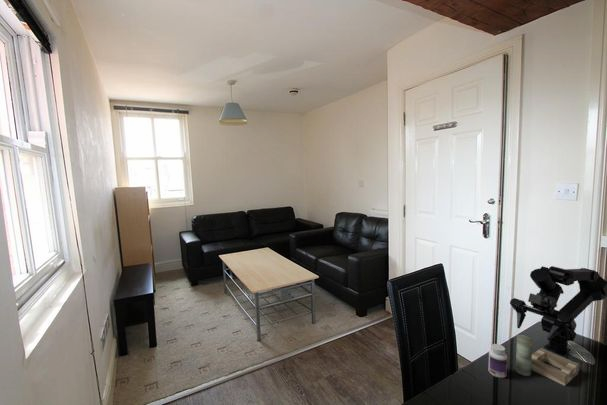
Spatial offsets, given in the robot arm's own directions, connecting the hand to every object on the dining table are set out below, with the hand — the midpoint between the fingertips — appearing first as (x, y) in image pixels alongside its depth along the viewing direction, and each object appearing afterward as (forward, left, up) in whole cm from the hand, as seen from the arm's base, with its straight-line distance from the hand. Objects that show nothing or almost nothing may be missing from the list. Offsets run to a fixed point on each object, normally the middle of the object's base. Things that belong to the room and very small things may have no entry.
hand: (532, 333), depth 106 cm
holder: (-3, +5, -12) cm, 14 cm away
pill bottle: (+14, -4, -12) cm, 19 cm away
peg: (+6, 0, -12) cm, 14 cm away
